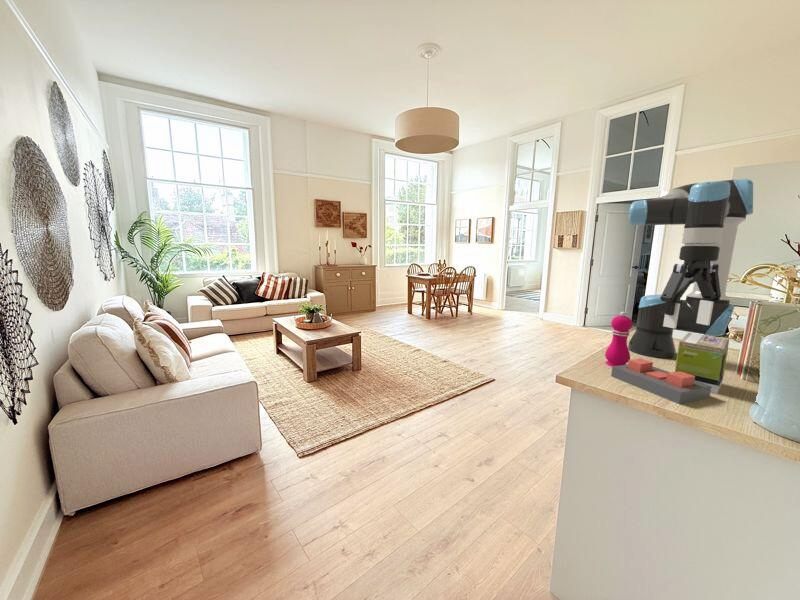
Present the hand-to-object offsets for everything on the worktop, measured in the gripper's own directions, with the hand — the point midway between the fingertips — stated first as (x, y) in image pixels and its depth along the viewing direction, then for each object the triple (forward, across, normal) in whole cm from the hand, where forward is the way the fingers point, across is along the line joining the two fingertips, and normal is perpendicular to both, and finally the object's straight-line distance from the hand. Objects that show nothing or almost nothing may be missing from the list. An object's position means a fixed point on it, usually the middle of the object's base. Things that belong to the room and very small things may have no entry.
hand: (686, 325), depth 88 cm
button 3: (+17, 0, 0) cm, 17 cm away
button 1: (+17, 0, -11) cm, 20 cm away
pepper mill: (+21, -5, -22) cm, 31 cm away
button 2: (+19, 0, -5) cm, 20 cm away
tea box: (+21, -16, -4) cm, 27 cm away
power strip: (+21, 0, -8) cm, 22 cm away
